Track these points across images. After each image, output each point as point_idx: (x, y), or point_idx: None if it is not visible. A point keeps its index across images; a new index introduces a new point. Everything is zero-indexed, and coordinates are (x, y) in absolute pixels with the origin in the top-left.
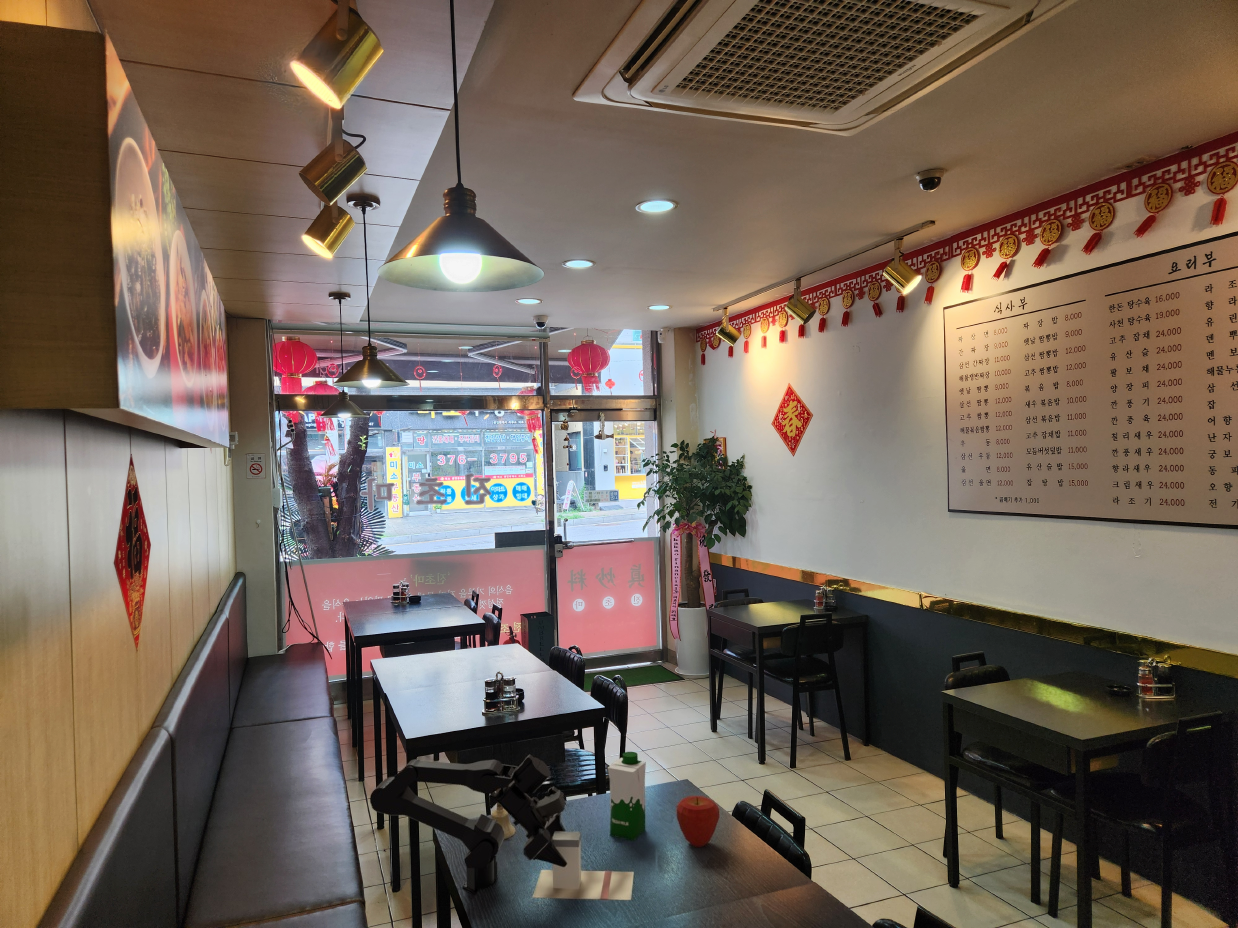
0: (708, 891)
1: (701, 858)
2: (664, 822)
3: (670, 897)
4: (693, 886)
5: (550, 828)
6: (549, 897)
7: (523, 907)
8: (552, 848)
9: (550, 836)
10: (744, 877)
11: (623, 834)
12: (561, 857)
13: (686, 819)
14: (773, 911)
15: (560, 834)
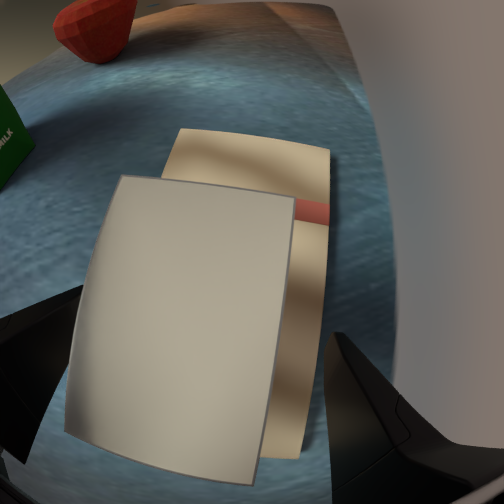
0: (274, 50)
1: (156, 49)
2: (20, 107)
3: (294, 89)
4: (254, 59)
5: (5, 423)
6: (308, 403)
7: (324, 471)
8: (446, 439)
9: (40, 418)
10: (235, 22)
11: (15, 160)
12: (374, 367)
13: (110, 14)
14: (327, 26)
15: (130, 391)
